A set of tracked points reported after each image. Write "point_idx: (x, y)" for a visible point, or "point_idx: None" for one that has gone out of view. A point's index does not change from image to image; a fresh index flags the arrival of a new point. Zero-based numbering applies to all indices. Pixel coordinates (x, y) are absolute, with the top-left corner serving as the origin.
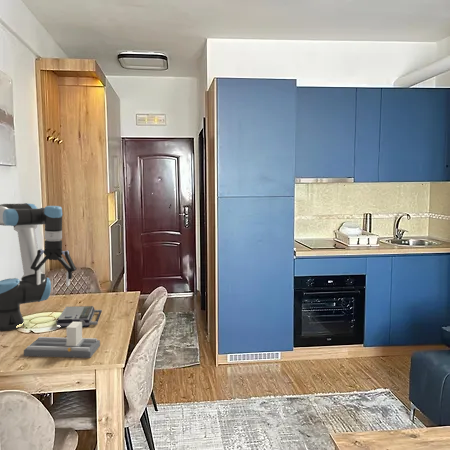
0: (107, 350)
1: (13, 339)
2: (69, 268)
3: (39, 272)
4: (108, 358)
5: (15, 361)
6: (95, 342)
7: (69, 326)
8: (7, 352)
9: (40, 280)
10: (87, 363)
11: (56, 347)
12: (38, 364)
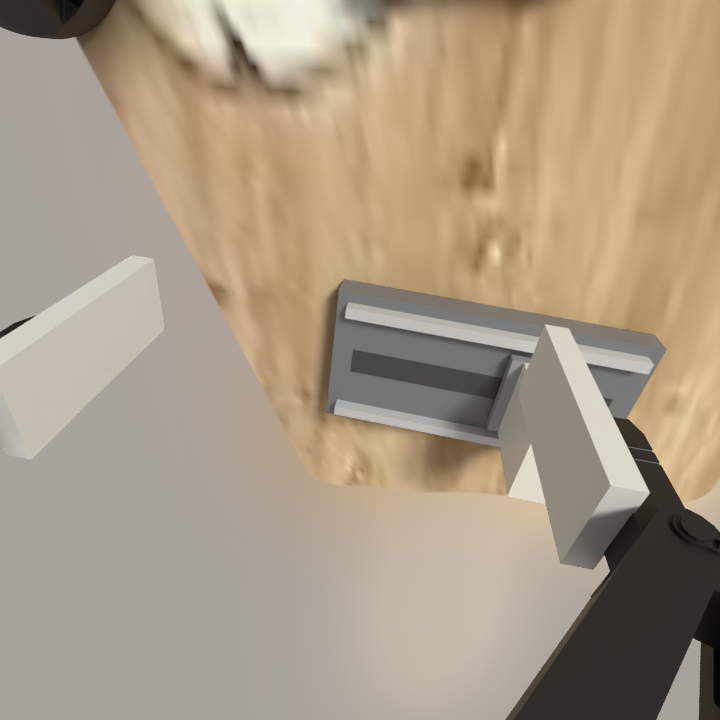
0: (680, 392)
1: (202, 199)
2: (665, 579)
3: (43, 399)
4: (665, 465)
5: (320, 435)
6: (636, 374)
7: (522, 488)
8: (256, 356)
9: (129, 288)
10: None
11: (455, 438)
12: (404, 467)
